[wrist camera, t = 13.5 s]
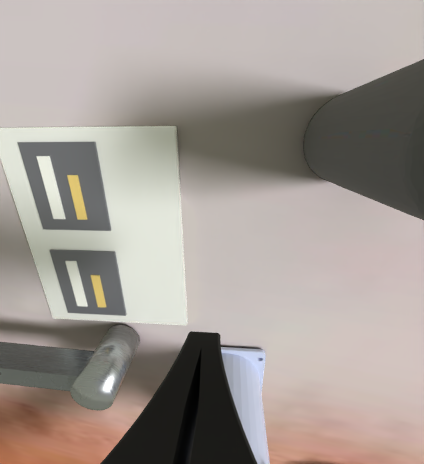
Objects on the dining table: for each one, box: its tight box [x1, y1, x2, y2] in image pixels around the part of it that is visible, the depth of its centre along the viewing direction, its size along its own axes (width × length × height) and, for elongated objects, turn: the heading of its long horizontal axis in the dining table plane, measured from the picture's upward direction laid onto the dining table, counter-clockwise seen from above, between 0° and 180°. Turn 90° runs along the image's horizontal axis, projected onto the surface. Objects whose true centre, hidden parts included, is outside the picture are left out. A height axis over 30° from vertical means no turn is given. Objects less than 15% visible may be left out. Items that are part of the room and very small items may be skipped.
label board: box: [0, 126, 188, 325], centre depth 20 cm, size 18×14×1 cm
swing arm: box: [0, 325, 140, 410], centre depth 22 cm, size 23×4×6 cm, turn 87°
